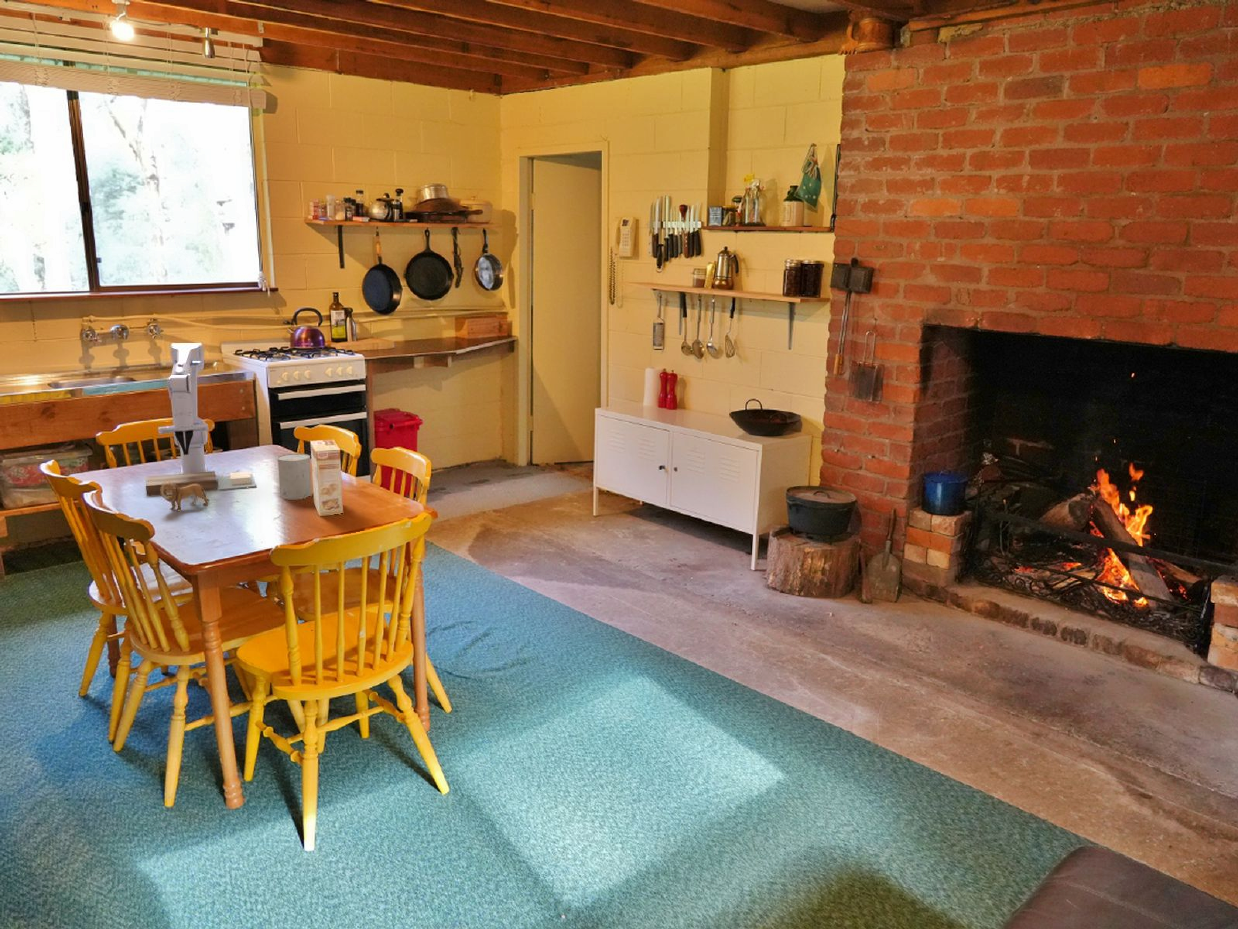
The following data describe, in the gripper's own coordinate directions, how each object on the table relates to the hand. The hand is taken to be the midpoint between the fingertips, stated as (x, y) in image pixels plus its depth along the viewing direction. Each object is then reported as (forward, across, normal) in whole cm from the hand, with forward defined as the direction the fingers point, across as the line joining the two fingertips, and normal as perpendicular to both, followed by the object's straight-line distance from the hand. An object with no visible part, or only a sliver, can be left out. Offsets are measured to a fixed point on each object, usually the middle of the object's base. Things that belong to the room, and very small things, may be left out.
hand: (186, 454), depth 300 cm
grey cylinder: (+10, +30, -28) cm, 42 cm away
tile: (+7, +15, -6) cm, 18 cm away
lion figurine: (+10, -2, -31) cm, 32 cm away
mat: (+9, +14, -6) cm, 18 cm away
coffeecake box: (+10, +37, -46) cm, 60 cm away
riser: (+9, -2, -6) cm, 11 cm away
